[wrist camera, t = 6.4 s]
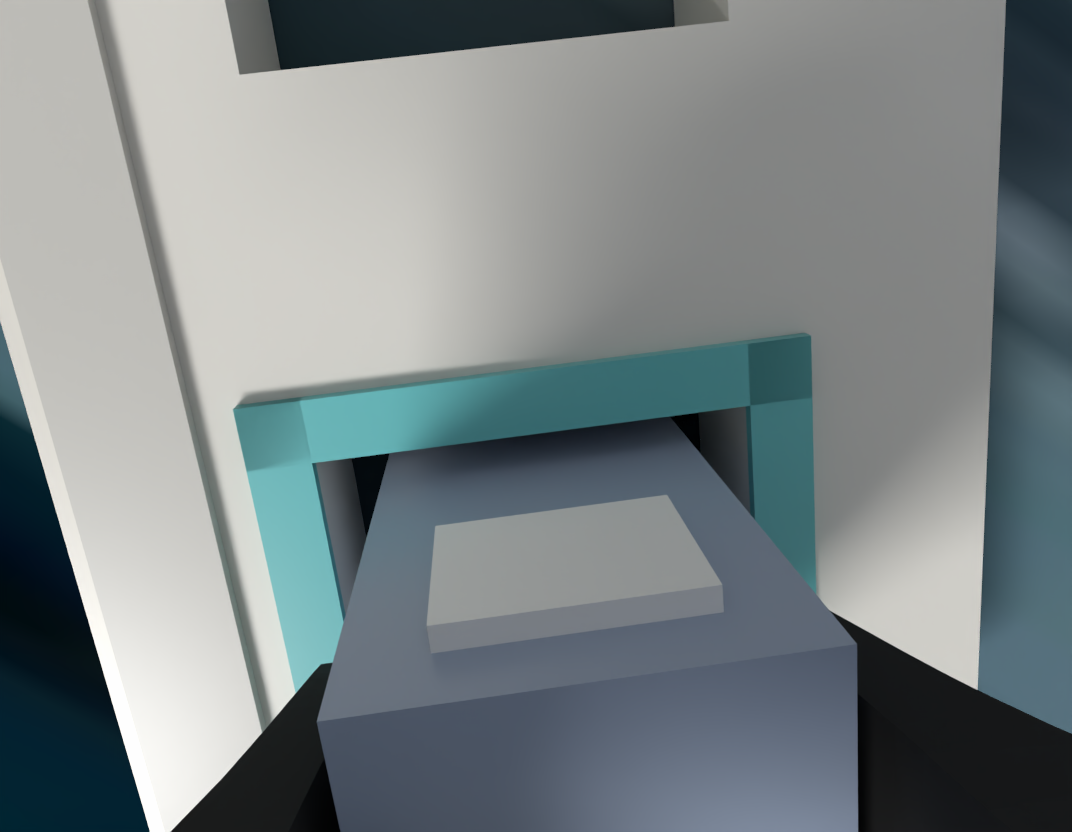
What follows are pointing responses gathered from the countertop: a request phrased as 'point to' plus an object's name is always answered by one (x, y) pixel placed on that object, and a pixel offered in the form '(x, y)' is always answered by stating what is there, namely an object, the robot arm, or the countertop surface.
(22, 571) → the countertop surface
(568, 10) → the countertop surface
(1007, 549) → the countertop surface
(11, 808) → the countertop surface
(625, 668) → the plug
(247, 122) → the panel
